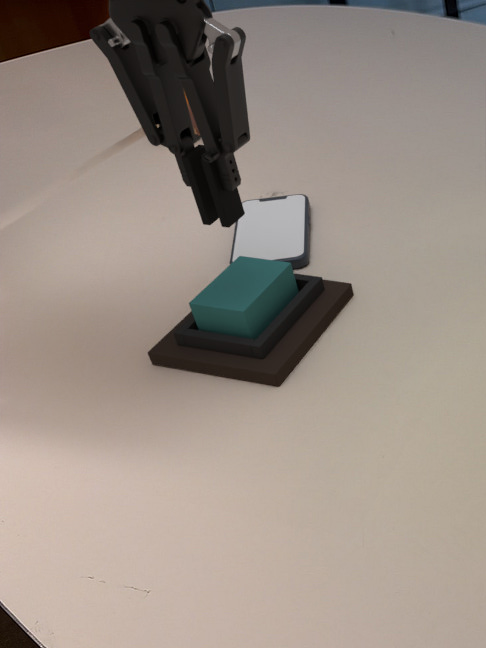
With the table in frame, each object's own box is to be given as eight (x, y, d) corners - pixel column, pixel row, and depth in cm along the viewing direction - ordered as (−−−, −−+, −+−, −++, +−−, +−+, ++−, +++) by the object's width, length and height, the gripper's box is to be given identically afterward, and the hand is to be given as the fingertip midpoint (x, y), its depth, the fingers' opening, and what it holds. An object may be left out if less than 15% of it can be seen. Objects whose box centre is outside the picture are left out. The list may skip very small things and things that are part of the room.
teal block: (200, 337, 80) (188, 303, 77) (249, 288, 86) (239, 255, 84) (254, 345, 78) (243, 311, 76) (299, 295, 85) (291, 262, 82)
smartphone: (310, 269, 92) (311, 203, 104) (307, 257, 91) (308, 191, 103) (231, 280, 91) (240, 211, 103) (227, 267, 90) (237, 200, 102)
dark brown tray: (152, 364, 79) (141, 339, 77) (240, 278, 91) (233, 255, 89) (279, 386, 76) (271, 361, 74) (354, 294, 87) (349, 270, 85)
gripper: (18, -61, 59) (133, 230, 74) (188, -55, 55) (271, 248, 71) (88, -82, 64) (182, 193, 80) (246, -78, 61) (312, 208, 76)
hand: (224, 218), depth 75 cm, fingers closed
